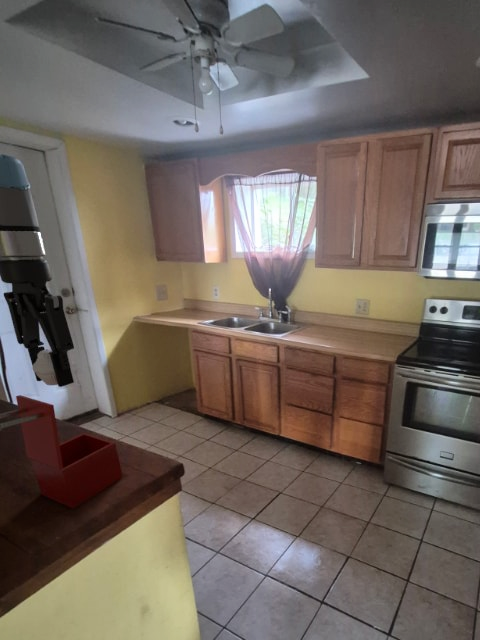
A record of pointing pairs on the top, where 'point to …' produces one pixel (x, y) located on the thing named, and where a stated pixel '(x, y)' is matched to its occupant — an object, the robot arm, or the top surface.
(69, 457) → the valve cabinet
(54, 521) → the top surface
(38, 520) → the top surface
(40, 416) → the hatch
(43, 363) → the muffin
